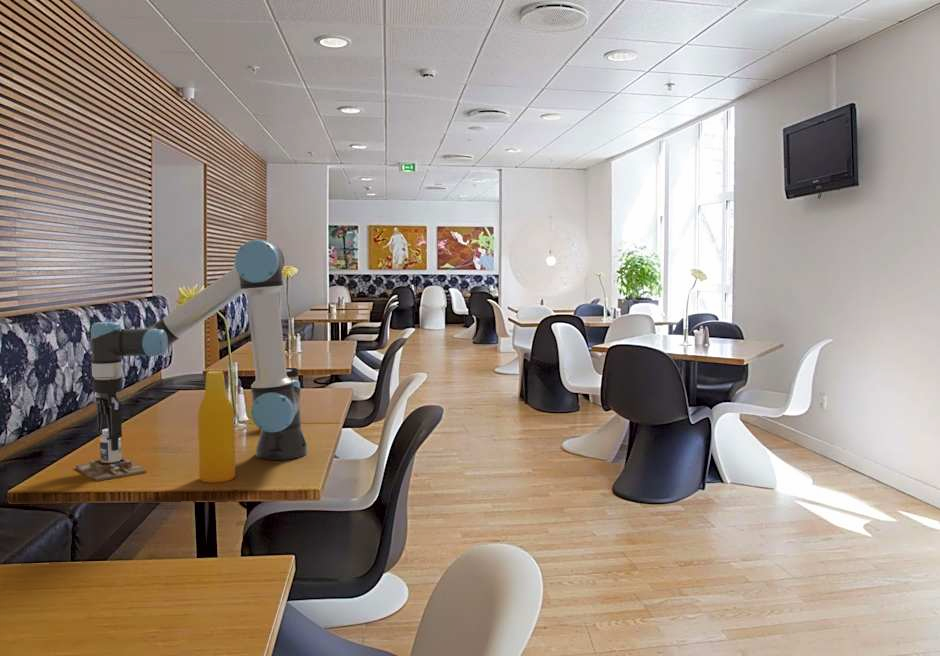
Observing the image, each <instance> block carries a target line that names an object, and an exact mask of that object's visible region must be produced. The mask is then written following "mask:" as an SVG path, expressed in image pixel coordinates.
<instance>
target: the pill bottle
mask: <svg viewBox="0 0 940 656" xmlns="http://www.w3.org/2000/svg"><path fill="white" fill-rule="evenodd" d="M102 435H103V437H102V438H101V437H100V439H99V454H100V455H99V456H100V458H99V459H101V462H104V463H109V461H108V440H107V439H106V438H108V437H109V433H108V428H107V429H103V430H102ZM121 448H122V447H121V437H120V438H119V456H120V460H121V456H122V451H121V450H122V449H121Z"/></svg>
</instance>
